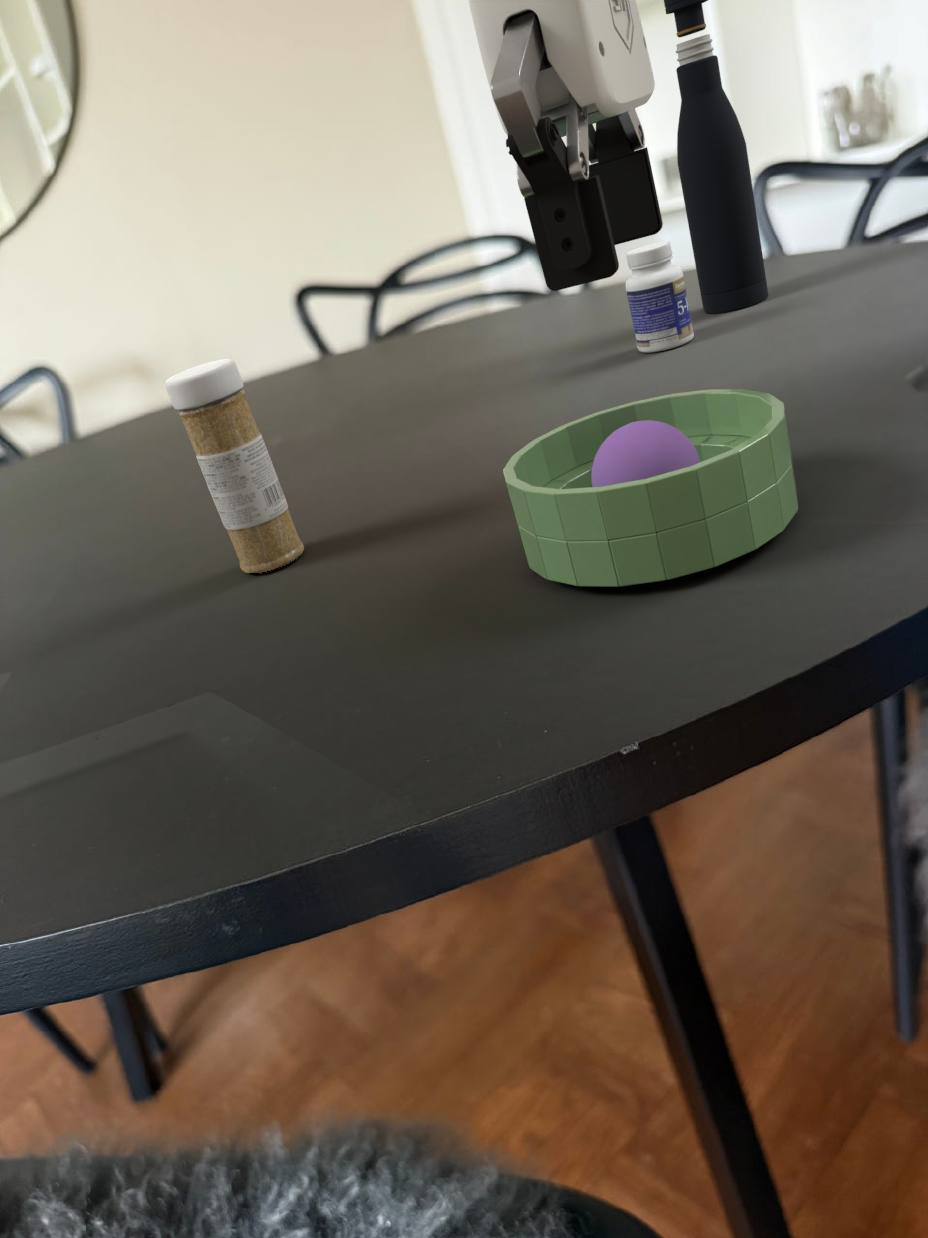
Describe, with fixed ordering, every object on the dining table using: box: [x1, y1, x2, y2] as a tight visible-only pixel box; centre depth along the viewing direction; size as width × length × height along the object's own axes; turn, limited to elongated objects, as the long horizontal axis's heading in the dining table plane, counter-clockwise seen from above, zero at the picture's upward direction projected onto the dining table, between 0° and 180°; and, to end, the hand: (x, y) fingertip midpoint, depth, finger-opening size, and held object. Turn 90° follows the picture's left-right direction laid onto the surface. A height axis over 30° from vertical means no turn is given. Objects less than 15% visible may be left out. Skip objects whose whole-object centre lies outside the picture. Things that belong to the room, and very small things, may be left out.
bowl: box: [502, 388, 799, 588], centre depth 51 cm, size 14×14×6 cm
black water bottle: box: [663, 0, 769, 315], centre depth 94 cm, size 6×6×30 cm
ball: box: [591, 420, 700, 487], centre depth 51 cm, size 6×6×6 cm
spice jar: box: [164, 358, 305, 574], centre depth 64 cm, size 5×5×13 cm
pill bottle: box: [625, 240, 695, 354], centre depth 91 cm, size 5×5×9 cm
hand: (610, 258), depth 47 cm, fingers open, 9 cm apart
